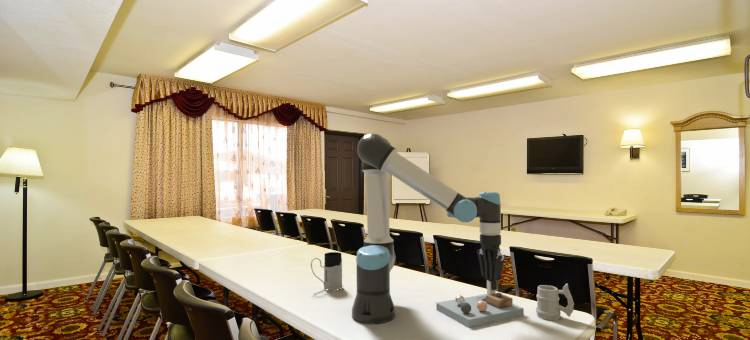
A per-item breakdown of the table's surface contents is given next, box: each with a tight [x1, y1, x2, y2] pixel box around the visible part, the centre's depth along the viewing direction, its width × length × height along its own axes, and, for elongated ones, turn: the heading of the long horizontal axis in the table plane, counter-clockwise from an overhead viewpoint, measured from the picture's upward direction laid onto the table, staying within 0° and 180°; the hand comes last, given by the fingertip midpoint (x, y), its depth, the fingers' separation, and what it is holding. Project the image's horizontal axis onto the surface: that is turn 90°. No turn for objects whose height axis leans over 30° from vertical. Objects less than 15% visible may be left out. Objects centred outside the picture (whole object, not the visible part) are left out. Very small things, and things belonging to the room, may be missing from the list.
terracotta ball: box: [477, 301, 487, 312], centre depth 124 cm, size 4×4×4 cm
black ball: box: [461, 302, 471, 314], centre depth 123 cm, size 4×4×4 cm
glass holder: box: [310, 251, 344, 291], centre depth 160 cm, size 9×14×15 cm, turn 112°
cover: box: [486, 292, 514, 308], centre depth 131 cm, size 6×6×4 cm
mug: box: [535, 283, 575, 321], centre depth 125 cm, size 8×12×12 cm, turn 60°
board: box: [435, 293, 525, 329], centre depth 130 cm, size 24×18×2 cm
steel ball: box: [454, 294, 465, 306], centre depth 130 cm, size 4×4×4 cm
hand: (491, 297), depth 134 cm, fingers closed
